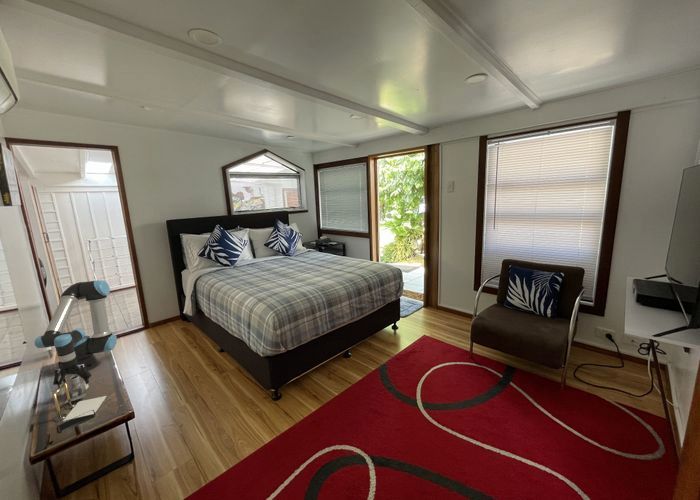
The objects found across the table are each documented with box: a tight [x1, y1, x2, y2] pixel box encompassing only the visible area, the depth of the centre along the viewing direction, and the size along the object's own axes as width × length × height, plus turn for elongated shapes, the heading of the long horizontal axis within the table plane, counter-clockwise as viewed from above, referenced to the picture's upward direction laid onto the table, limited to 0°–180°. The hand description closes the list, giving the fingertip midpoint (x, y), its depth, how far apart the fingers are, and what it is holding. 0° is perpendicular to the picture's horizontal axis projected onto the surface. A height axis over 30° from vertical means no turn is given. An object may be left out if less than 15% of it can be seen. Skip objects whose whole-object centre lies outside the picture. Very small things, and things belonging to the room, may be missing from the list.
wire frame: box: [52, 381, 77, 422], centre depth 164 cm, size 15×5×16 cm, turn 20°
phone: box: [57, 410, 97, 434], centre depth 159 cm, size 8×1×15 cm
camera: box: [64, 374, 87, 405], centre depth 177 cm, size 9×12×15 cm
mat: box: [62, 395, 107, 423], centre depth 168 cm, size 16×14×1 cm
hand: (75, 390), depth 177 cm, fingers open, 11 cm apart
